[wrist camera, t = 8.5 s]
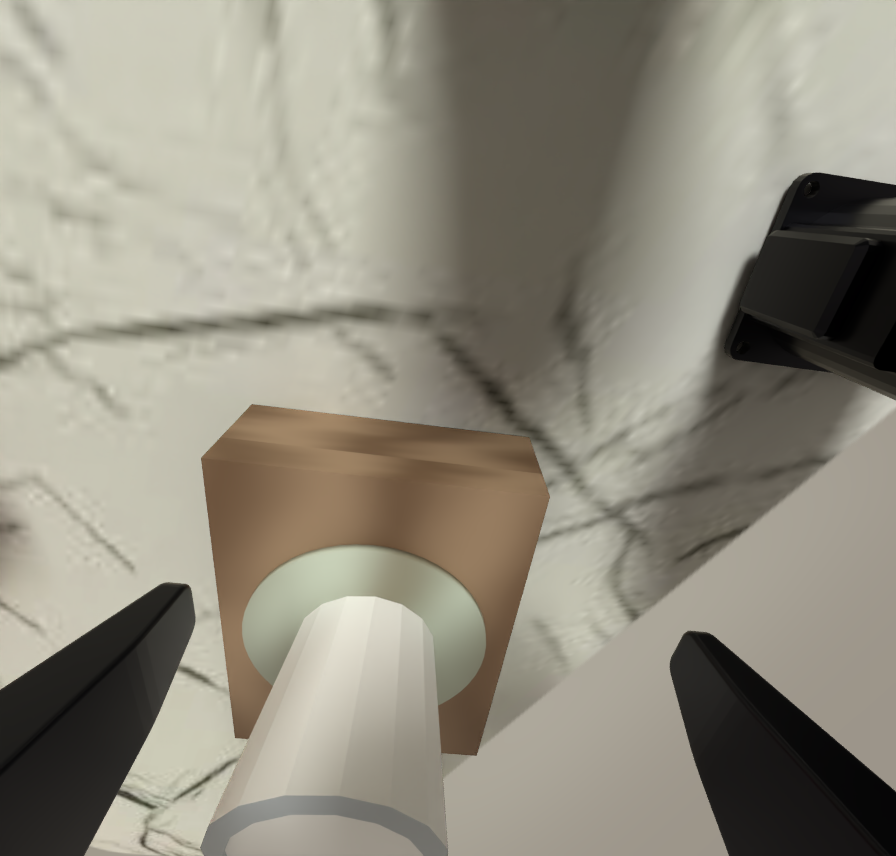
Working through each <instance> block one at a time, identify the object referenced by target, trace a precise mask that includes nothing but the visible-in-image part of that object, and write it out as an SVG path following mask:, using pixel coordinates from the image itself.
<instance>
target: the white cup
mask: <svg viewBox="0 0 896 856" xmlns="http://www.w3.org/2000/svg"><path fill="white" fill-rule="evenodd" d="M200 848H201V850H202V852H203V854H204V856H448V845H447V831H446V816H445V802H444V787H443V772H442V758H441V743H440V729H439V714H438V700H437V685H436V671H435V657H434V642H433V635H432V634H431V632H430V630H429V629H428V627H427V625H426V624H425V622H424V621H423V619H422V618H421V617H419V616H418V615H416V614H415V613H414V612H412V611H411V610H409V609H408V608H406V607H405V606H404V605H402V604H399V603H396V602H392V601H389V600H386V599H382V598H379V597H376V596H346V597H343V598H340V599H336V600H333V601H330V602H327V603H323V604H321V605H320V606H319V607H317V608H316V609H315V610H314V611H313V612H311V613H310V614H309V615H308V616H306V617H305V618H304V620H303V622H302V625H301V627H300V629H299V631H298V633H297V635H296V638H295V640H294V642H293V644H292V646H291V648H290V651H289V653H288V655H287V657H286V659H285V661H284V664H283V666H282V668H281V670H280V672H279V674H278V676H277V679H276V681H275V683H274V685H273V687H272V689H271V692H270V694H269V696H268V698H267V700H266V702H265V705H264V707H263V709H262V711H261V713H260V715H259V718H258V720H257V722H256V724H255V726H254V728H253V731H252V733H251V735H250V737H249V739H248V741H247V744H246V746H245V748H244V750H243V752H242V754H241V757H240V759H239V761H238V763H237V765H236V767H235V769H234V772H233V774H232V776H231V778H230V780H229V782H228V785H227V787H226V789H225V791H224V793H223V795H222V798H221V800H220V802H219V804H218V806H217V808H216V811H215V813H214V815H213V817H212V819H211V821H210V824H209V826H208V829H207V831H206V834H205V836H204V839H203V842H202V844H201V847H200Z"/></svg>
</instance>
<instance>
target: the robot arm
mask: <svg viewBox="0 0 896 856" xmlns="http://www.w3.org/2000/svg"><path fill="white" fill-rule="evenodd" d="M808 183H810V184H811V186H812V187H811V191H810V192H809V194H808V195H807V196H805V195H804V189H805V187H806V185H807V184H808ZM743 341H744V346H743V347H742V348H741V349H740V350H738V351H736V349H737V346H738V344H739V343H741V342H743ZM724 349H725V352H726V354H727V355H728V356H730V357H732V358H734V359H737V360H742V361H750V362H757V363H764V364H772V365H779V366H787V367H794V368H802V369H809V370H817V371H824V372H832V373H835V374H838V375H840V376H842V377H844V378H847V379H849V380H851V381H853V382H856V383H858V384H860V385H862V386H865V387H867V388H869V389H871V390H874V391H876V392H878V393H880V394H883V395H885V396H887V397H889V398H892V399H894V400H896V185H892V184H886V183H880V182H874V181H868V180H862V179H856V178H849V177H843V176H837V175H831V174H825V173H806V174H803V175H801V176H799V177H798V178H797V179H795V180H794V181H793V183H792V185H791V186H790V188H789V191H788V193H787V195H786V198H785V200H784V203H783V205H782V207H781V210H780V212H779V215H778V217H777V220H776V222H775V224H774V227H773V229H772V232H771V234H770V235H769V236H768V237H767V238H766V241H765V243H764V246H763V248H762V250H761V253H760V255H759V258H758V260H757V263H756V265H755V267H754V270H753V272H752V275H751V277H750V279H749V282H748V284H747V287H746V289H745V292H744V294H743V296H742V299H741V301H740V309H739V311H738V314H737V316H736V318H735V321H734V323H733V326H732V328H731V330H730V333H729V335H728V338H727V340H726V343H725V347H724ZM194 626H195V610H194V604H193V598H192V591H191V588H190V587H189V585H187V584H181V583H170V582H166V583H163V584H160V585H159V586H157V587H156V588H154V589H152V590H151V591H149V592H148V593H146V594H145V595H143V596H142V597H140V598H139V599H137V600H136V601H134V602H133V603H131V604H130V605H128V606H127V607H125V608H124V609H122V610H121V611H119V612H118V613H116V614H115V615H113V616H112V617H110V618H109V619H107V620H105V621H104V622H102V623H101V624H99V625H98V626H96V627H95V628H93V629H92V630H90V631H89V632H87V633H86V634H84V635H83V636H81V637H80V638H78V639H77V640H75V641H74V642H72V643H71V644H69V645H68V646H66V647H65V648H63V649H61V650H60V651H58V652H57V653H55V654H54V655H52V656H51V657H49V658H48V659H46V660H45V661H43V662H42V663H40V664H39V665H37V666H36V667H34V668H33V669H31V670H30V671H28V672H27V673H25V674H24V675H22V676H21V677H19V678H18V679H16V680H14V681H13V682H11V683H10V684H8V685H7V686H5V687H4V688H2V689H1V690H0V856H84V855H85V853H86V851H87V849H88V847H89V845H90V844H91V842H92V840H93V838H94V836H95V834H96V832H97V830H98V829H99V827H100V825H101V823H102V821H103V819H104V817H105V815H106V814H107V812H108V810H109V808H110V806H111V804H112V802H113V800H114V799H115V797H116V795H117V793H118V791H119V789H120V787H121V785H122V784H123V782H124V780H125V778H126V776H127V774H128V772H129V770H130V769H131V767H132V765H133V763H134V761H135V759H136V757H137V755H138V754H139V752H140V750H141V748H142V746H143V744H144V742H145V740H146V738H147V737H148V735H149V733H150V731H151V729H152V727H153V725H154V723H155V720H156V718H157V716H158V714H159V711H160V709H161V707H162V704H163V702H164V700H165V697H166V695H167V692H168V690H169V688H170V685H171V683H172V680H173V678H174V675H175V673H176V671H177V668H178V666H179V663H180V661H181V659H182V656H183V654H184V651H185V649H186V647H187V644H188V642H189V639H190V637H191V635H192V632H193V629H194ZM670 672H671V676H672V680H673V684H674V688H675V691H676V695H677V698H678V702H679V706H680V710H681V714H682V717H683V721H684V725H685V728H686V732H687V736H688V739H689V743H690V747H691V750H692V753H693V757H694V760H695V763H696V766H697V769H698V772H699V775H700V778H701V781H702V783H703V786H704V789H705V791H706V794H707V797H708V800H709V802H710V805H711V808H712V811H713V813H714V816H715V819H716V821H717V824H718V826H719V830H720V832H721V835H722V838H723V840H724V843H725V846H726V849H727V851H728V854H729V856H896V792H895V790H893V789H892V788H891V787H890V786H889V785H887V784H886V783H885V782H884V781H883V780H882V779H881V778H879V777H878V776H877V775H876V774H875V773H873V772H872V771H871V770H870V769H869V768H868V767H867V766H865V765H864V764H863V763H862V762H861V761H859V760H858V759H857V758H856V757H855V756H854V755H852V754H851V753H850V752H849V751H848V750H847V749H845V748H844V747H843V746H842V745H841V744H840V743H838V742H837V741H836V740H835V739H834V738H833V737H831V736H830V735H829V734H828V733H827V732H826V731H824V730H823V729H822V728H821V727H820V726H819V725H817V724H816V723H815V722H814V721H813V720H811V719H810V718H809V717H808V716H807V715H806V714H804V713H803V712H802V711H801V710H800V709H799V708H797V707H796V706H795V705H794V704H793V703H792V702H790V701H789V700H788V699H787V698H786V697H784V696H783V695H782V694H781V693H780V692H779V691H778V690H776V689H775V688H774V687H773V686H772V685H771V684H769V683H768V682H767V681H766V680H765V679H763V678H762V677H761V676H760V675H759V674H758V673H756V672H755V671H754V670H753V669H752V668H751V667H750V666H748V665H747V664H746V663H745V662H744V661H742V660H741V659H740V658H739V657H738V656H737V655H735V654H734V653H733V652H732V651H731V650H730V649H728V648H727V647H726V646H725V645H724V644H723V643H721V642H720V641H719V640H718V639H717V638H716V637H714V636H713V635H711V634H710V633H707V632H696V631H687V632H686V633H685V634H684V635H683V636H682V639H681V640H680V642H679V644H678V646H677V648H676V650H675V652H674V653H673V655H672V657H671V661H670Z"/></svg>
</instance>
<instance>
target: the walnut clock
mask: <svg viewBox="0 0 896 856" xmlns="http://www.w3.org/2000/svg"><path fill="white" fill-rule="evenodd" d="M201 461H202V469H203V478H204V486H205V494H206V502H207V510H208V519H209V527H210V535H211V543H212V552H213V560H214V568H215V576H216V585H217V593H218V601H219V609H220V617H221V626H222V634H223V642H224V650H225V659H226V667H227V675H228V683H229V691H230V700H231V708H232V716H233V724H234V733H235V738H242V739H249V737H250V735H251V733H252V731H253V728H254V726H255V724H256V722H257V720H258V718H259V715H260V713H261V711H262V709H263V707H264V705H265V702H266V700H267V698H268V696H269V694H270V692H271V689H272V687H273V685H274V683H275V681H276V679H277V676H278V674H279V672H280V670H281V668H282V666H283V664H284V661H285V659H286V657H287V655H288V653H289V651H290V648H291V646H292V644H293V642H294V640H295V638H296V635H297V633H298V631H299V629H300V627H301V625H302V622H303V620H304V618H305V617H306V616H308V615H309V614H310V613H311V612H313V611H314V610H315V609H316V608H317V607H319V606H320V605H321V604H323V603H327V602H330V601H333V600H336V599H340V598H343V597H346V596H376V597H379V598H382V599H386V600H389V601H392V602H396V603H399V604H402V605H404V606H405V607H406V608H408V609H409V610H411V611H412V612H414V613H415V614H416V615H418V616H419V617H421V618H422V619H423V621H424V622H425V624H426V625H427V627H428V629H429V630H430V632H431V634H432V635H433V642H434V657H435V671H436V685H437V700H438V714H439V729H440V743H441V753H448V754H461V755H475V756H476V755H477V753H478V749H479V746H480V742H481V738H482V735H483V731H484V728H485V724H486V721H487V717H488V714H489V710H490V707H491V703H492V700H493V696H494V693H495V689H496V685H497V682H498V678H499V675H500V671H501V668H502V664H503V661H504V657H505V654H506V650H507V647H508V643H509V640H510V636H511V633H512V629H513V625H514V622H515V618H516V615H517V611H518V608H519V604H520V601H521V597H522V594H523V590H524V587H525V583H526V580H527V576H528V572H529V569H530V565H531V562H532V558H533V555H534V551H535V548H536V544H537V541H538V537H539V534H540V530H541V527H542V523H543V519H544V516H545V512H546V509H547V505H548V502H549V498H550V495H549V493H548V490H547V487H546V484H545V481H544V478H543V475H542V473H541V470H540V467H539V464H538V461H537V458H536V456H535V453H534V450H533V447H532V444H531V441H530V438H529V437H522V436H513V435H505V434H496V433H488V432H480V431H471V430H463V429H454V428H446V427H438V426H429V425H421V424H412V423H404V422H396V421H387V420H379V419H370V418H362V417H354V416H345V415H337V414H328V413H320V412H311V411H303V410H295V409H286V408H278V407H269V406H261V405H253V404H252V405H251V406H250V407H249V408H248V409H247V410H246V411H245V412H244V413H243V414H242V415H241V416H240V417H239V419H238V420H237V421H236V422H235V423H234V424H233V425H232V426H231V427H230V428H229V429H228V430H227V431H226V432H225V433H224V434H223V435H222V436H221V438H220V439H219V440H218V441H217V442H216V443H215V444H214V445H213V446H212V447H211V448H210V449H209V450H208V451H207V452H206V453H205V454H204V455H203V457H202V458H201Z"/></svg>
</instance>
